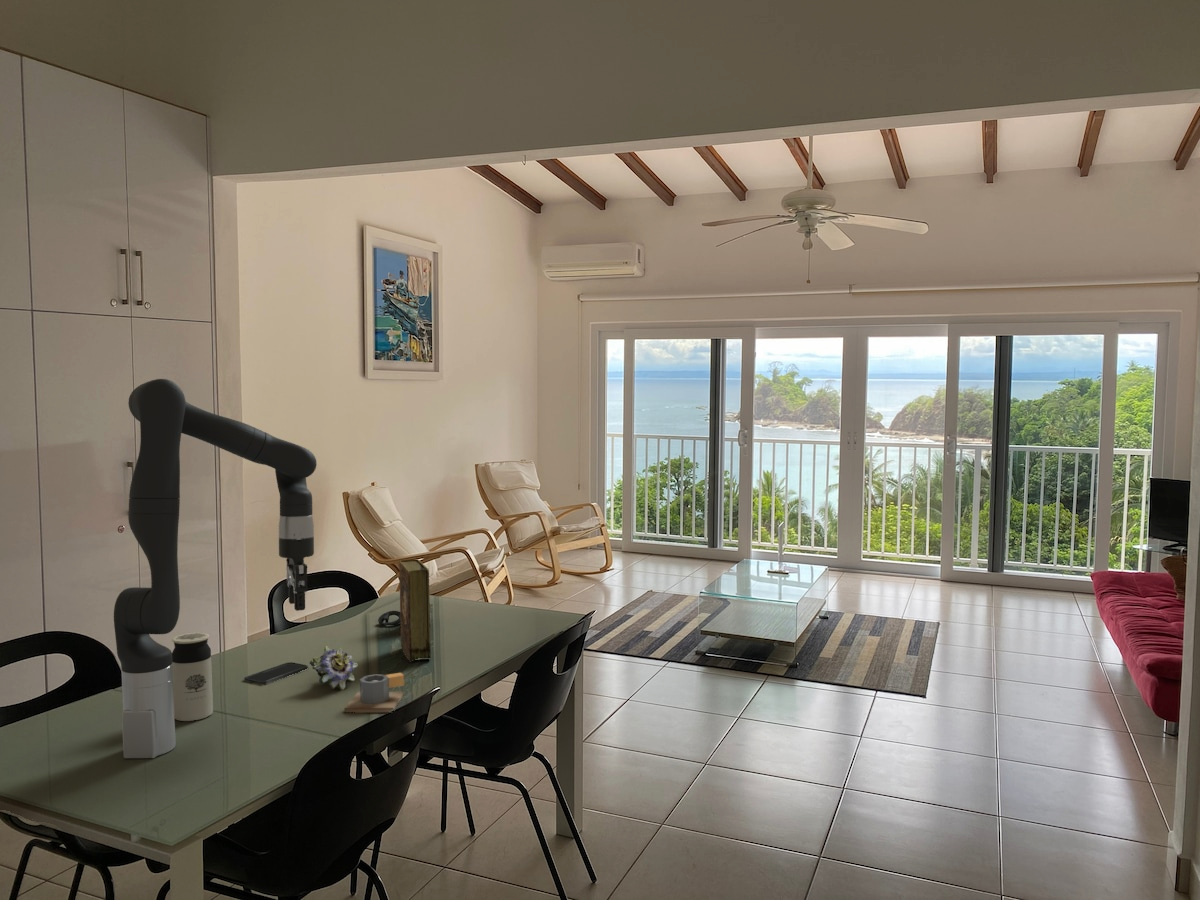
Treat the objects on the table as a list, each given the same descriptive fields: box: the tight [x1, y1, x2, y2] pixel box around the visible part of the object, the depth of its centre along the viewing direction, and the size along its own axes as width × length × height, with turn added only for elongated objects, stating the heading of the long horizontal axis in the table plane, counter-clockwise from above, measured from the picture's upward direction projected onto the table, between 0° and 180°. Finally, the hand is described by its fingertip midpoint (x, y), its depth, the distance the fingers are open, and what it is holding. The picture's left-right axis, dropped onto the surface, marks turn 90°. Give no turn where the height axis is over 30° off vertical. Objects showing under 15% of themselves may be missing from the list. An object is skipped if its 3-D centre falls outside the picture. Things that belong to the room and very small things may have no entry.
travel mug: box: [171, 632, 214, 722], centre depth 199 cm, size 8×8×18 cm
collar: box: [359, 672, 405, 704], centre depth 207 cm, size 10×6×5 cm, turn 120°
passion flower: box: [309, 645, 359, 691], centre depth 219 cm, size 11×11×12 cm
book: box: [398, 559, 432, 662], centre depth 244 cm, size 16×6×25 cm, turn 22°
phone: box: [243, 661, 309, 686], centre depth 228 cm, size 8×1×15 cm
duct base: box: [344, 680, 405, 714], centre depth 206 cm, size 11×11×6 cm
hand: (296, 606), depth 201 cm, fingers open, 8 cm apart
